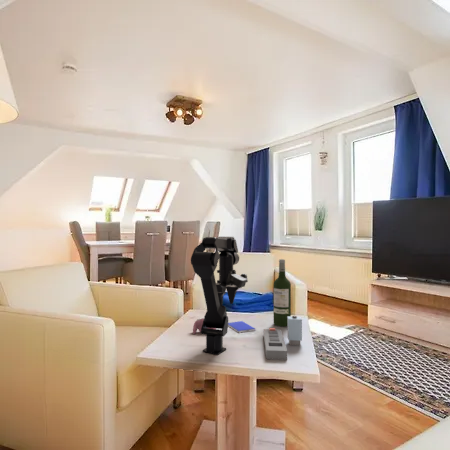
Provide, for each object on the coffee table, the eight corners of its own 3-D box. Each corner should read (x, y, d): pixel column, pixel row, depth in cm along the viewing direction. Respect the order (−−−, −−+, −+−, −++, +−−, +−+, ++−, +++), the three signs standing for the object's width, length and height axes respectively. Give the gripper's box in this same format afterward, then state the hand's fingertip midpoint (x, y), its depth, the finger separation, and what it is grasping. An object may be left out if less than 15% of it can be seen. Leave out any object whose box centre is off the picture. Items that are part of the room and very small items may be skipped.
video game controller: (216, 336, 143) (217, 319, 146) (215, 334, 139) (216, 317, 142) (193, 335, 144) (194, 318, 147) (191, 333, 140) (193, 316, 143)
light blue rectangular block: (301, 345, 127) (301, 317, 127) (288, 345, 127) (288, 317, 127) (300, 342, 131) (300, 315, 131) (287, 342, 131) (287, 314, 131)
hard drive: (226, 322, 154) (238, 330, 143) (242, 320, 157) (255, 328, 146) (226, 326, 154) (238, 334, 143) (242, 324, 157) (255, 331, 146)
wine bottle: (273, 326, 152) (273, 260, 152) (273, 321, 160) (273, 258, 160) (291, 327, 151) (291, 260, 151) (290, 322, 158) (290, 258, 159)
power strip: (287, 359, 113) (287, 349, 113) (266, 359, 114) (266, 348, 114) (279, 331, 144) (279, 323, 144) (263, 331, 145) (263, 322, 145)
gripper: (232, 271, 124) (232, 313, 123) (253, 266, 140) (253, 303, 140) (207, 269, 129) (207, 310, 129) (230, 264, 145) (230, 300, 145)
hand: (226, 306), depth 135 cm, fingers open, 9 cm apart
